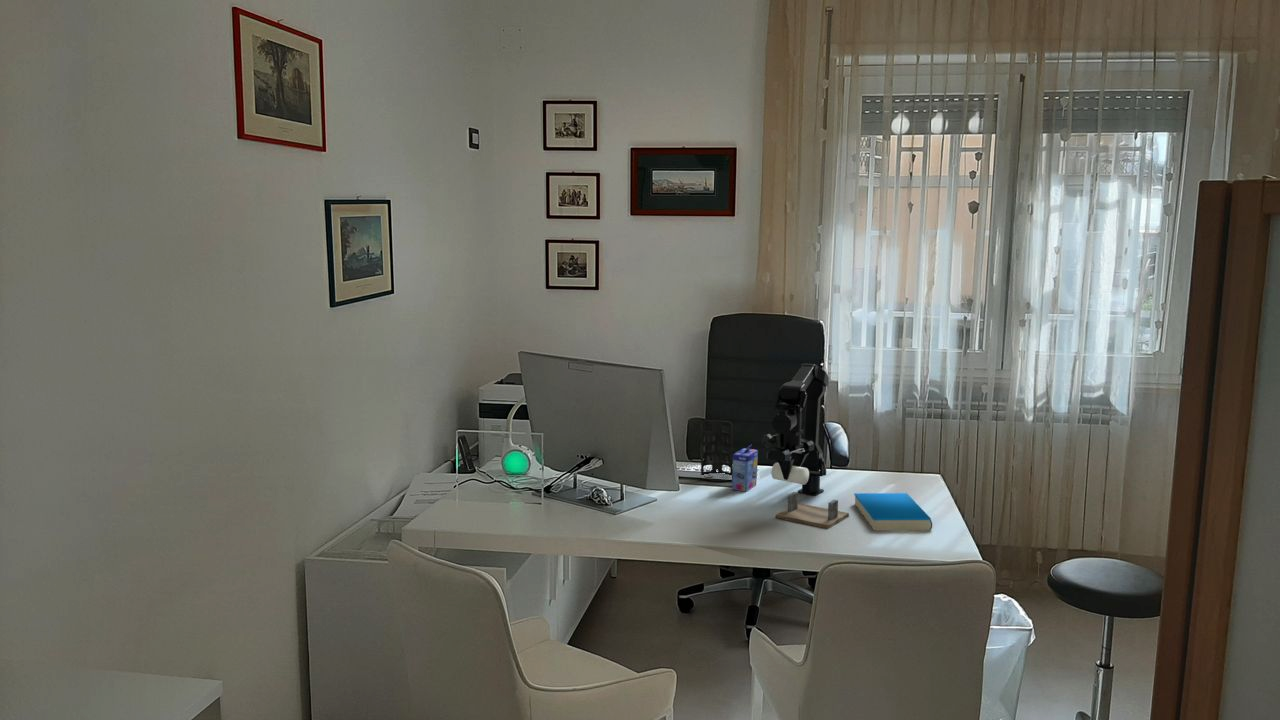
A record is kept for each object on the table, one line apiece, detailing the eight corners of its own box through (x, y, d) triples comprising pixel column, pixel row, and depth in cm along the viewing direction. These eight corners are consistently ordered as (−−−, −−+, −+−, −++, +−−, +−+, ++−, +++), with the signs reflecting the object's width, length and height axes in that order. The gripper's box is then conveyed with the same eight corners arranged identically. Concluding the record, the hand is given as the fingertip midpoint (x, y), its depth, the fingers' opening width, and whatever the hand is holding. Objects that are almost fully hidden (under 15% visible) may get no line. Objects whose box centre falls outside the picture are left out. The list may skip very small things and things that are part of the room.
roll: (779, 477, 289) (779, 461, 288) (808, 482, 283) (809, 466, 282) (771, 480, 285) (771, 464, 284) (800, 486, 279) (801, 470, 278)
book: (873, 518, 269) (853, 492, 293) (873, 533, 270) (852, 505, 294) (933, 518, 269) (908, 491, 294) (933, 532, 270) (907, 505, 294)
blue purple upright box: (747, 492, 307) (747, 449, 304) (731, 490, 309) (731, 447, 307) (758, 484, 315) (758, 442, 313) (742, 482, 318) (743, 440, 316)
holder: (701, 482, 318) (701, 424, 315) (699, 476, 326) (699, 419, 323) (733, 482, 319) (734, 424, 316) (731, 475, 326) (731, 419, 323)
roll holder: (797, 506, 292) (797, 487, 291) (848, 516, 282) (849, 496, 281) (775, 517, 281) (776, 498, 280) (828, 528, 271) (828, 508, 270)
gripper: (783, 418, 293) (782, 466, 296) (751, 428, 279) (750, 479, 281) (815, 422, 287) (814, 472, 289) (784, 433, 272) (783, 486, 274)
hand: (790, 477), depth 284 cm, fingers closed on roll, 5 cm apart
